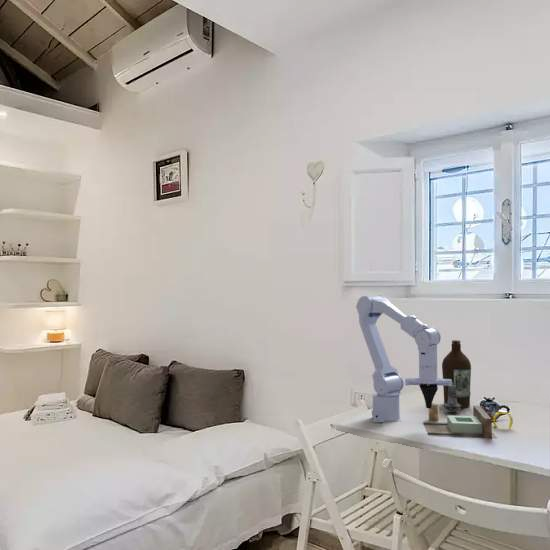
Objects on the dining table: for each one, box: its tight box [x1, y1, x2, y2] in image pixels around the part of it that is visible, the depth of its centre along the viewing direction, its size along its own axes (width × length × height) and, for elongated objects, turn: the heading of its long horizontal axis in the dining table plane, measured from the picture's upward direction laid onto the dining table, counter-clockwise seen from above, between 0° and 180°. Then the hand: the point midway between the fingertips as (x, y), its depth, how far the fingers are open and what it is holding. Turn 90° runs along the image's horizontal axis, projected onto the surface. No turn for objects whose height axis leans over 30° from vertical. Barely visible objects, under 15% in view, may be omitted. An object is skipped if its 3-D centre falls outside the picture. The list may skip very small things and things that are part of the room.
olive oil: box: [441, 339, 472, 409], centre depth 200 cm, size 11×11×25 cm
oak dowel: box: [428, 402, 439, 422], centre depth 178 cm, size 3×3×6 cm
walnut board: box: [422, 405, 498, 440], centre depth 167 cm, size 20×16×7 cm
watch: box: [492, 409, 514, 429], centre depth 169 cm, size 6×3×6 cm, turn 86°
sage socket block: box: [446, 414, 482, 434], centre depth 166 cm, size 9×9×3 cm
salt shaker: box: [443, 382, 461, 415], centre depth 187 cm, size 6×6×12 cm
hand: (428, 407), depth 168 cm, fingers closed
